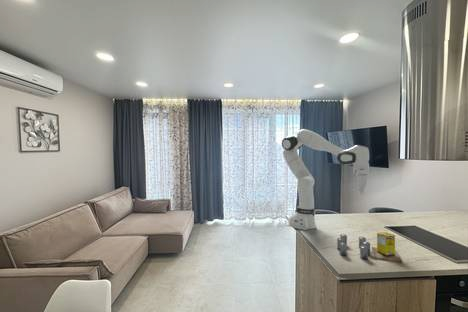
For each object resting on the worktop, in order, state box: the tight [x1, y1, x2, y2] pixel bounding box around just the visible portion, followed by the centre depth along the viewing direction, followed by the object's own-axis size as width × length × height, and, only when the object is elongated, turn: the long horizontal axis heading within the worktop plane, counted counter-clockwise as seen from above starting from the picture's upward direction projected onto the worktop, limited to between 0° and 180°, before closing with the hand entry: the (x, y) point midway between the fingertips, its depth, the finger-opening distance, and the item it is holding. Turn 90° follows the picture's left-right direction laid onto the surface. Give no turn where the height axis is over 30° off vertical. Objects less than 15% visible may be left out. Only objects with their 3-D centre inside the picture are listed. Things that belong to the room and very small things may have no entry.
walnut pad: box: [371, 246, 403, 264], centre depth 124 cm, size 12×14×1 cm
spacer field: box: [336, 233, 371, 261], centre depth 130 cm, size 17×18×6 cm
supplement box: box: [376, 231, 396, 256], centre depth 124 cm, size 6×6×11 cm
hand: (361, 192), depth 144 cm, fingers open, 8 cm apart
